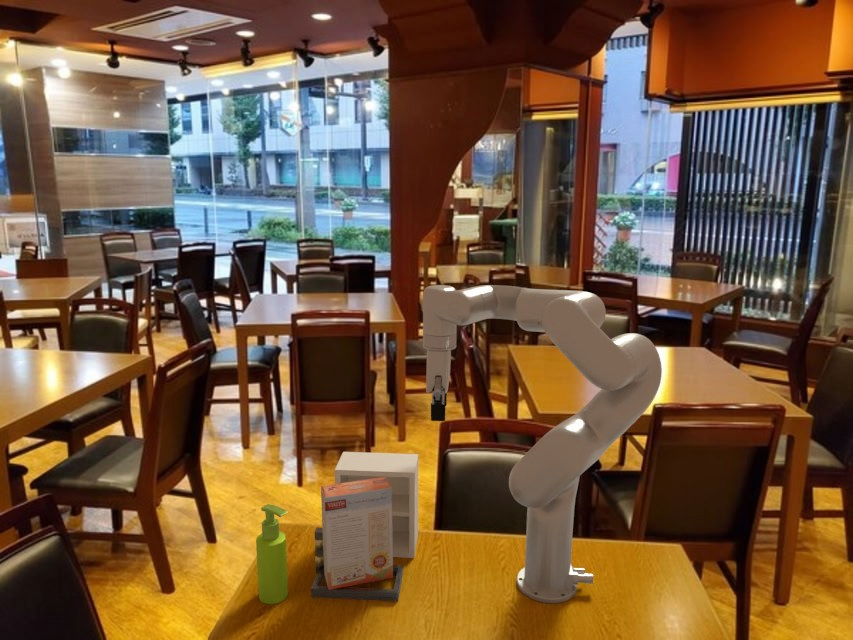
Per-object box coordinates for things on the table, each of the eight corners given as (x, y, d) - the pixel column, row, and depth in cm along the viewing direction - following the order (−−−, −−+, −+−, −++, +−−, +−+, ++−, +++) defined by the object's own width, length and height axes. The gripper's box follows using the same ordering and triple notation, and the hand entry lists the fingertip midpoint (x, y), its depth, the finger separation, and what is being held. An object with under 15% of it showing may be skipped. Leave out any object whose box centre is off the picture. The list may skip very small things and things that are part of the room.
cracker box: (386, 563, 140) (386, 475, 136) (393, 579, 135) (393, 487, 130) (322, 574, 136) (320, 483, 132) (327, 591, 131) (324, 497, 126)
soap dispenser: (278, 609, 128) (274, 518, 124) (252, 598, 131) (248, 509, 127) (297, 593, 133) (294, 505, 129) (272, 583, 136) (268, 497, 132)
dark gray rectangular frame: (403, 572, 141) (403, 531, 139) (398, 601, 131) (398, 557, 129) (318, 568, 142) (316, 527, 140) (306, 596, 132) (305, 553, 130)
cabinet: (417, 534, 156) (418, 454, 152) (414, 558, 146) (414, 472, 142) (345, 531, 157) (343, 451, 153) (336, 554, 147) (334, 469, 143)
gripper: (425, 331, 152) (424, 400, 155) (420, 349, 135) (419, 426, 139) (456, 332, 152) (455, 401, 155) (455, 350, 135) (454, 427, 138)
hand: (438, 413), depth 147 cm, fingers open, 9 cm apart
